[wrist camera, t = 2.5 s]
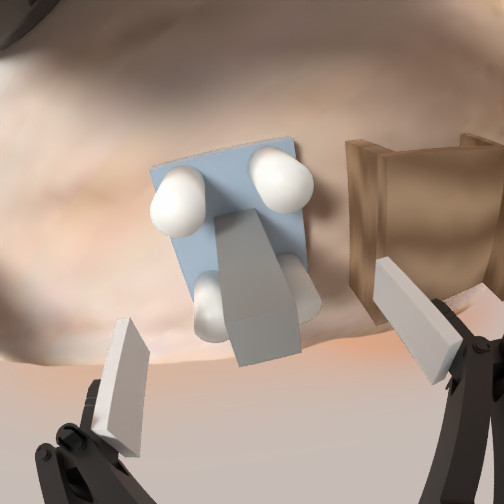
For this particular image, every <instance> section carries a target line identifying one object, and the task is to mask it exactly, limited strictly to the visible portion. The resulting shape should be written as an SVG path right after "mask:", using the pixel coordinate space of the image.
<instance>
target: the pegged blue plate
mask: <svg viewBox="0 0 504 504" xmlns="http://www.w3.org/2000/svg"><path fill="white" fill-rule="evenodd" d="M150 174H151V177H152V181H153V184H154V188H155V191H156V195H155V197H154V199H153V201H152V204H151V208H150V215H151V220H152V222H153V224H154V226H155V227H156V228H157V229H158V230H159V231H160V232H161V233H163V234H164V235H166V236H169V237H170V238H171V241H172V244H173V247H174V250H175V253H176V256H177V258H178V261H179V264H180V267H181V270H182V273H183V275H184V278H185V281H186V284H187V286H188V289H189V292H190V294H191V297H192V300H193V302H194V331H195V333H196V335H197V336H198V337H199V338H200V339H202V340H204V341H206V342H210V343H220V342H224V341H227V340H229V339H230V341H231V344H232V347H233V350H234V353H235V356H236V359H237V361H238V364H239V367H243V366H248V365H252V364H257V363H261V362H265V361H270V360H273V359H278V358H282V357H286V356H290V355H294V354H297V353H301V341H300V330H299V324H301V323H305V322H307V321H309V320H311V319H313V318H314V317H315V316H316V315H317V314H318V313H319V311H320V309H321V306H322V300H321V297H320V295H319V294H318V292H317V290H316V288H315V286H314V284H313V282H312V281H311V279H310V277H309V275H308V263H307V252H306V241H305V231H304V221H303V212H302V208H303V207H304V206H305V205H306V204H307V203H308V202H309V200H310V198H311V196H312V194H313V190H314V181H313V177H312V175H311V173H310V171H309V170H308V169H307V168H306V167H305V166H304V165H302V164H301V163H300V162H298V161H297V160H296V155H295V148H294V141H293V138H291V137H289V136H286V137H279V138H274V139H268V140H262V141H257V142H252V143H247V144H242V145H237V146H232V147H227V148H223V149H218V150H214V151H209V152H205V153H201V154H197V155H193V156H189V157H185V158H181V159H177V160H173V161H170V162H166V163H162V164H159V165H155V166H153V167H152V168H151V169H150Z"/></svg>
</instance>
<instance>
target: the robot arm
mask: <svg viewBox="0 0 504 504" xmlns="http://www.w3.org/2000/svg"><path fill="white" fill-rule="evenodd" d="M58 1H59V0H0V50H2V49H4V48H5V47H7V46H9V45H11V44H12V43H14V42H15V41H17V40H18V39H19V38H21V37H22V36H23V35H25V34H26V33H27V32H28V31H30V30H31V29H32V28H33V27H34V26H35V25H36V24H37V23H38V22H39V21H41V20H42V19H43V18H44V17H45V16H46V15H47V13H48V12H49V11H50V10H51V9H52V8H53V7H54V6H55V5H56V4H57V2H58ZM373 301H374V302H375V303H376V305H377V306H378V307H379V309H380V310H381V311H382V313H383V314H384V316H385V317H386V318H387V320H388V321H389V323H390V324H391V325H392V327H393V328H394V330H395V331H396V333H397V334H398V335H399V337H400V338H401V340H402V341H403V343H404V344H405V345H406V347H407V348H408V350H409V351H410V352H411V354H412V356H413V357H414V359H415V360H416V362H417V363H418V365H419V366H420V368H421V369H422V371H423V372H424V374H425V375H426V377H427V379H428V380H429V382H430V383H431V385H434V384H436V383H438V382H440V381H441V380H443V379H445V377H446V375H447V373H448V371H449V372H450V374H451V375H452V377H451V379H450V380H449V382H448V384H447V386H446V390H447V389H448V388H449V392H448V398H447V403H446V409H445V414H444V419H443V424H442V429H441V432H440V437H439V441H438V445H437V448H436V452H435V456H434V459H433V463H432V466H431V469H430V472H429V476H428V478H427V481H426V484H425V487H424V490H423V493H422V496H421V498H420V501H419V503H418V504H474V499H475V495H476V491H477V488H478V484H479V480H480V476H481V471H482V466H483V461H484V456H485V450H486V445H487V438H488V430H489V423H490V416H491V425H492V435H493V448H494V449H493V450H494V501H493V504H504V335H503V337H502V339H498V340H493V341H489V340H487V339H486V338H484V337H481V336H474V335H473V334H472V333H471V332H470V330H469V329H468V328H467V327H466V326H465V325H464V323H463V322H462V321H461V320H460V319H459V318H458V317H456V314H455V313H454V312H453V311H451V309H450V308H449V307H448V306H447V305H446V304H445V303H444V302H442V301H441V300H439V299H437V298H435V299H432V300H429V299H428V298H427V297H426V296H425V295H424V293H423V292H422V291H421V290H420V289H419V288H418V287H417V286H416V285H415V284H414V283H413V282H412V281H411V280H410V279H409V277H408V276H407V275H406V274H405V273H404V272H403V271H402V270H401V269H400V268H399V267H398V266H397V265H396V264H395V263H394V262H393V261H392V260H391V259H390V258H389V257H384V258H381V259H377V260H376V268H375V282H374V294H373ZM149 355H150V352H149V350H148V348H147V347H146V345H145V343H144V341H143V340H142V338H141V336H140V334H139V333H138V331H137V329H136V327H135V325H134V324H133V322H132V320H131V318H130V317H127V318H122V319H117V322H116V326H115V329H114V332H113V336H112V339H111V343H110V347H109V350H108V354H107V358H106V362H105V366H104V370H103V374H102V378H101V379H99V380H94V381H93V382H92V384H91V385H90V387H89V389H88V393H87V399H86V401H85V407H84V410H83V414H82V419H81V424H80V428H79V427H78V426H77V425H75V424H73V423H66V424H64V425H63V426H62V427H60V428H59V430H58V432H57V434H56V442H57V444H58V445H59V446H60V447H57V448H55V447H53V446H52V445H51V444H48V443H43V444H42V445H40V446H39V447H38V448H37V450H36V453H35V461H36V466H37V472H38V477H39V482H40V486H41V490H42V494H43V498H44V502H45V504H157V503H156V502H155V501H154V500H153V499H152V498H151V497H150V496H149V495H148V494H147V493H146V491H145V490H144V489H143V488H142V487H141V485H140V484H139V483H138V482H137V481H136V480H135V478H134V477H133V476H132V475H131V473H130V472H129V471H128V470H127V469H126V467H125V466H124V464H123V463H122V462H121V461H120V460H119V459H118V453H120V454H122V455H123V456H124V457H140V446H141V431H142V418H143V406H144V396H145V387H146V378H147V370H148V362H149Z"/></svg>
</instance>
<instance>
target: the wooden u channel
mask: <svg viewBox="0 0 504 504" xmlns="http://www.w3.org/2000/svg"><path fill="white" fill-rule="evenodd" d="M345 144H346V157H347V171H348V189H349V215H350V281H349V286H350V287H351V288H352V290H353V291H354V293H355V294H356V296H357V297H358V299H359V300H360V302H361V303H362V305H363V306H364V308H365V309H366V311H367V312H368V314H369V315H370V317H371V318H372V320H373V321H374V323H375V324H376V326H377V325H380V324H383V323H386V322H388V320H387V318H386V317H385V316H384V314H383V313H382V311H381V310H380V309H379V307H378V306H377V305H376V303H375V302H374V301H373V294H374V282H375V268H376V260H377V259H381V258H384V257H389V258H390V259H391V260H392V261H393V262H394V263H395V264H396V265H397V266H398V267H399V268H400V269H401V270H402V271H403V272H404V273H405V274H406V275H407V276H408V277H409V279H410V280H411V281H412V282H413V283H414V284H415V285H416V286H417V287H418V288H419V289H420V290H421V291H422V292H423V293H424V295H425V296H426V297H427V298H428V299H429V300H432V299H435V298H437V299H439V300H441V301H442V300H444V299H447V298H449V297H451V296H453V295H456V294H458V293H460V292H462V291H465V290H467V289H469V288H471V287H473V286H475V285H477V284H480V283H482V282H483V283H484V284H485V285H486V286H487V287H488V288H489V289H490V290H491V291H492V292H493V293H494V294H495V295H496V296H497V297H498V298H499V299H500V300H501V301H504V145H502V144H499V143H496V142H493V141H491V140H488V139H485V138H482V137H479V136H476V135H473V134H470V133H461V147H448V148H434V149H421V150H410V151H400V152H394V151H392V150H389V149H387V148H384V147H381V146H379V145H376V144H373V143H371V142H368V141H365V140H362V139H361V140H352V141H345Z"/></svg>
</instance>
